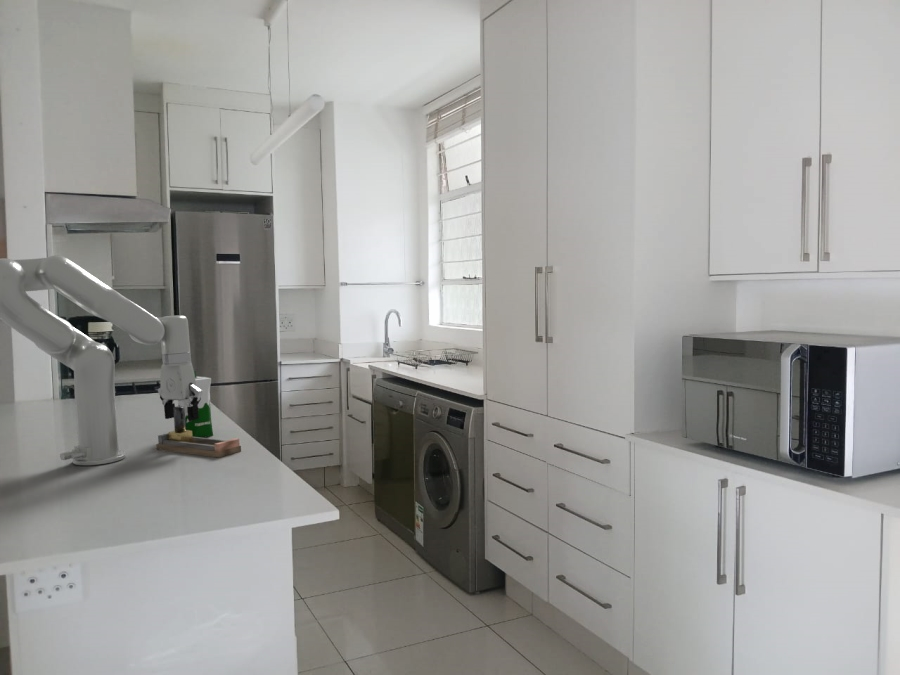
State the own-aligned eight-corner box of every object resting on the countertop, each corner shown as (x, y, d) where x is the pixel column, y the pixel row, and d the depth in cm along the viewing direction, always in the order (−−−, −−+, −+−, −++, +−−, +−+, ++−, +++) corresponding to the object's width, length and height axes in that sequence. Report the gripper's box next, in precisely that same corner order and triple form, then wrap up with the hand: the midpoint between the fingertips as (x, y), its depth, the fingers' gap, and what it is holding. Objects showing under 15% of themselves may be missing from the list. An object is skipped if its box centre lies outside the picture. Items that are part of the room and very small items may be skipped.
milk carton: (200, 432, 219) (197, 369, 218) (217, 435, 214) (214, 371, 212) (175, 437, 212) (171, 372, 211) (192, 440, 207) (188, 374, 206)
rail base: (218, 457, 184) (217, 443, 184) (156, 449, 197) (155, 435, 196) (241, 451, 191) (240, 437, 191) (180, 443, 204) (179, 430, 203)
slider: (181, 444, 194) (179, 408, 194) (169, 442, 197) (167, 407, 196) (192, 441, 198) (190, 406, 197) (180, 439, 200) (178, 405, 200)
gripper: (145, 360, 197) (150, 419, 198) (186, 361, 188) (191, 423, 190) (167, 357, 203) (172, 414, 205) (208, 358, 195) (213, 418, 196)
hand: (181, 418), depth 197 cm, fingers open, 9 cm apart
